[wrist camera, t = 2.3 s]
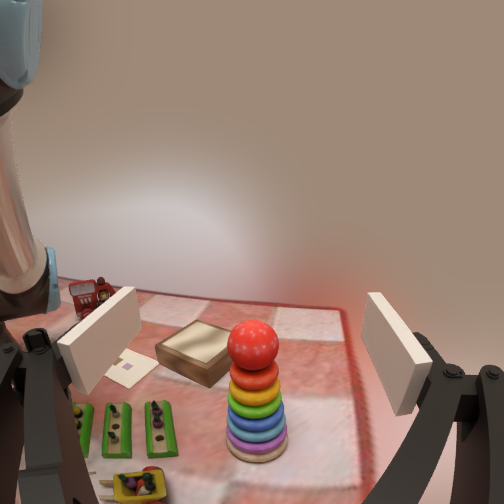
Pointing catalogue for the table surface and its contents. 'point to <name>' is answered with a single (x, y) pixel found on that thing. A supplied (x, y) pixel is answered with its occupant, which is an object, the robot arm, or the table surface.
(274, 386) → the stacking toy
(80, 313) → the toy fire truck
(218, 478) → the table surface
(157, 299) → the table surface
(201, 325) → the pedestal
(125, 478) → the toy garden set
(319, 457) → the table surface
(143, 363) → the page
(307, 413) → the table surface
